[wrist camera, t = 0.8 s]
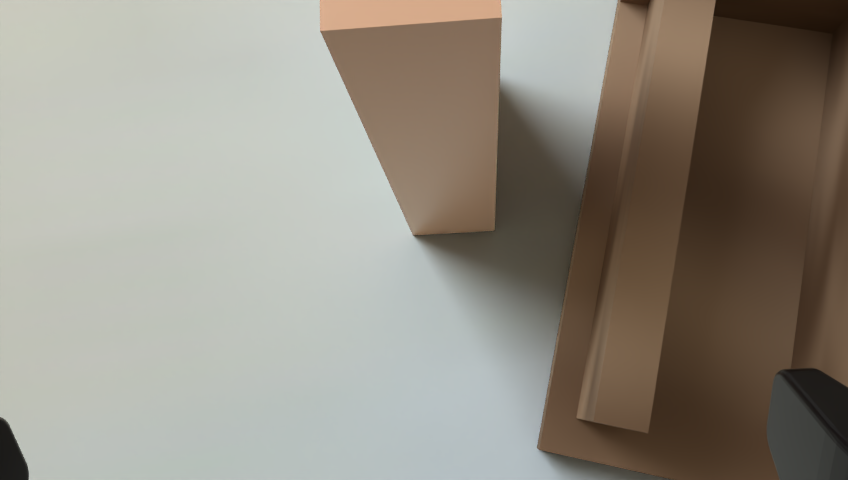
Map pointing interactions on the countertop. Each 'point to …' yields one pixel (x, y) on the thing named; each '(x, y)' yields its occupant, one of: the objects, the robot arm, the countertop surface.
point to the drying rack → (705, 236)
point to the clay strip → (426, 101)
